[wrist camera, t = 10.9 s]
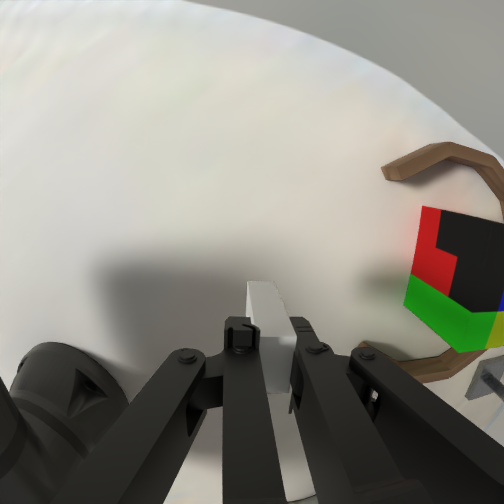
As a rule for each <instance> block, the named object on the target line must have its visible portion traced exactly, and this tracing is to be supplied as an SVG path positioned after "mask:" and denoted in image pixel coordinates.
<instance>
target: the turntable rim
mask: <svg viewBox="0 0 504 504" xmlns="http://www.w3.org/2000/svg"><path fill="white" fill-rule="evenodd" d="M443 159H446V160H450V161H453V162H457V163H461V164H465V165H468V166H472V167H474V168H475V169H476V170H477V172H478V173H479V174H480V175H481V177H482V178H483V179H484V180H485V182H486V183H487V184H488V186H489V187H490V188H491V189H492V191H493V192H494V193H495V195H496V196H497V198H498V199H499V200H500V204H501V208H502V213H503V218H504V169H503V167H502V166H501V165H500V163H499V162H498V160H497V159H496V158H495V157H494V156H492V155H490V154H487V153H484V152H481V151H478V150H475V149H472V148H469V147H466V146H463V145H459V144H456V143H453V142H442V143H434V144H429V145H427V146H425V147H423V148H421V149H418V150H416V151H414V152H412V153H410V154H408V155H406V156H404V157H402V158H399V159H397V160H395V161H393V162H391V163H389V164H387V165H385V166H383V167H381V169H382V171H383V174H384V176H385V179H386V180H401V181H402V180H404V179H406V178H408V177H410V176H412V175H414V174H416V173H418V172H420V171H422V170H424V169H426V168H428V167H430V166H432V165H434V164H436V163H437V162H439V161H441V160H443ZM363 346H366V347H371V346H370V345H368V344H366V343H364V342H363V341H362V342H361V344H360V345H359V346H358V347H363ZM371 348H373V347H371ZM374 349H375V348H374ZM487 350H488V349H482V350H476V351H469V352H462V353H458V352H457V351H455V350H454V349H453V348H451V349H449V350H448V351H446V352H445V353H443V354H442V355H441V356H439V357H435V358H428V359H421V360H413V361H405V362H397V361H396V360H394V359H392V358H390V357H389V356H387V355H385V354H384V355H385V356H386V357H388V358H389V359H390V360H392V361H393V362H394V363H395V364H397V365H398V366H399V367H401V368H402V369H403V370H404V371H406V372H407V373H408V374H410V375H411V376H412V377H414V378H415V379H416V380H417V381H419V382H420V383H421V384H423V383H429V382H434V381H439V380H444V379H449V377H450V378H451V377H452V376H454V375H455V374H456V373H458V372H459V371H461V370H462V369H463V368H465V367H466V366H467V365H469V364H470V363H471V362H473V361H474V360H475V359H476V358H478V357H479V356H480V355H482V354H483V353H484V352H485V351H487ZM381 353H382V352H381ZM382 354H383V353H382Z"/></svg>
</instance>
